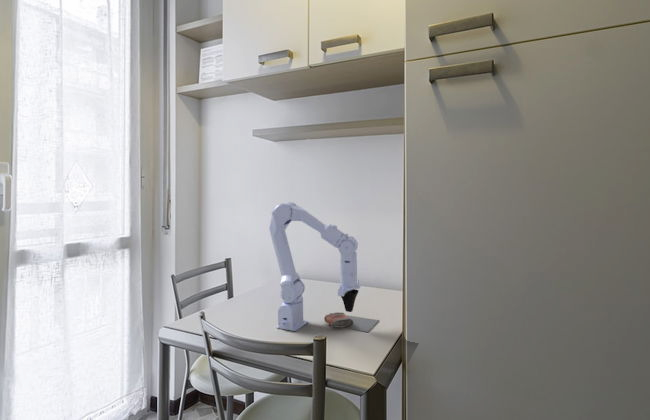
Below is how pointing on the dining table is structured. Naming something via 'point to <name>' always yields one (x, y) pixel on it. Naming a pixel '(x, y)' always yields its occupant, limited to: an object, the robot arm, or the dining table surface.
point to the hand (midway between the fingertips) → (349, 311)
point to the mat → (362, 324)
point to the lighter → (338, 320)
